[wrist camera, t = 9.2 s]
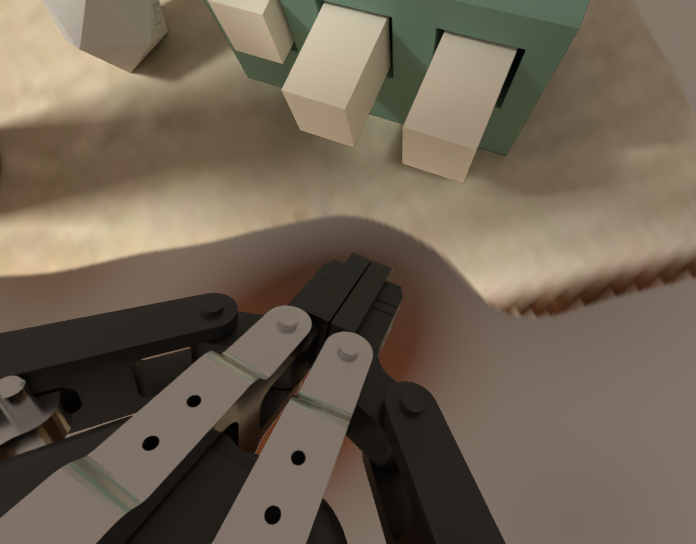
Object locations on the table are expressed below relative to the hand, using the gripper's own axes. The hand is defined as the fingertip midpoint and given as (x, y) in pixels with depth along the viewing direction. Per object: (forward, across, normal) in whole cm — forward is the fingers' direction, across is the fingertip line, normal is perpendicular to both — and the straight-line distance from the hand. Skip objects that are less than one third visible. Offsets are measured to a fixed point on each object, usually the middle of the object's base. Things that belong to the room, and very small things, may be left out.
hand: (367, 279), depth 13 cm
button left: (+16, +14, -5) cm, 22 cm away
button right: (+14, 0, -3) cm, 14 cm away
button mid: (+13, +7, -2) cm, 15 cm away
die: (+19, +30, 0) cm, 35 cm away
